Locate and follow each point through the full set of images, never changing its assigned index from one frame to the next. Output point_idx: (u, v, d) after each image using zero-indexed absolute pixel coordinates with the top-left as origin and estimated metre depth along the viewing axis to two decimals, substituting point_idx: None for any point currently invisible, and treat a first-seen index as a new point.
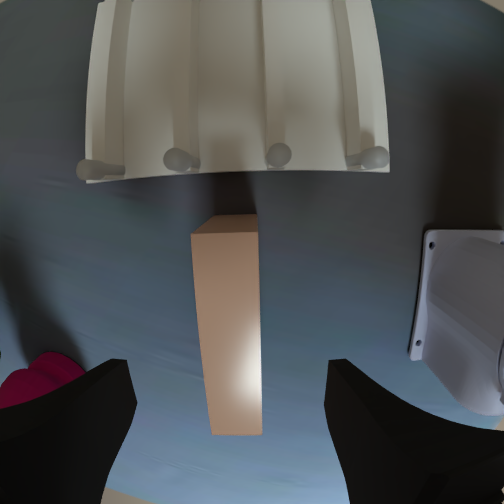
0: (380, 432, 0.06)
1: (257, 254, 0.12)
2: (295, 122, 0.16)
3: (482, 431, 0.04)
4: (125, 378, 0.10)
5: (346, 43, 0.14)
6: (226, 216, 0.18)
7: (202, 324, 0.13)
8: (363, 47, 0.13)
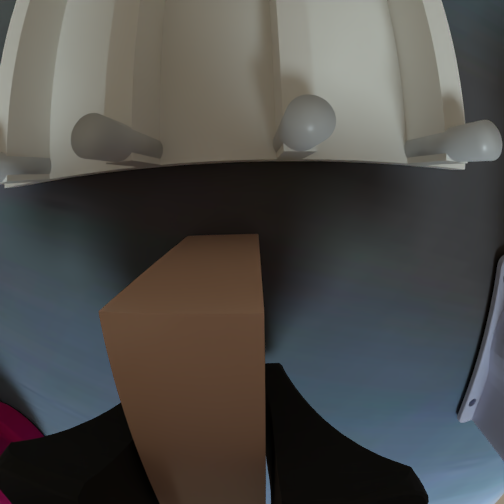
0: (274, 444, 0.06)
1: (262, 365, 0.05)
2: (324, 81, 0.09)
3: (382, 461, 0.04)
4: None
5: None
6: (206, 239, 0.10)
7: (152, 470, 0.05)
8: None
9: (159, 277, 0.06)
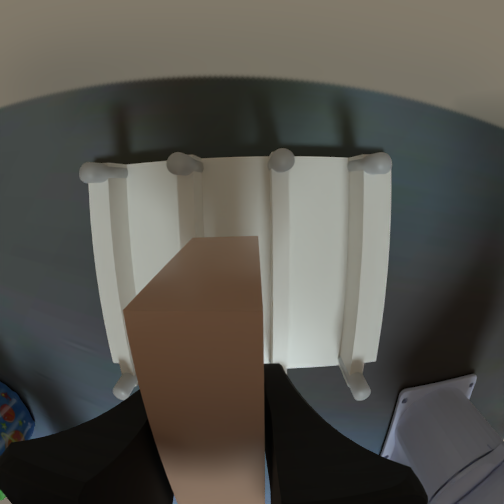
0: (273, 444, 0.06)
1: (261, 353, 0.05)
2: (297, 331, 0.19)
3: (382, 461, 0.04)
4: None
5: (355, 265, 0.17)
6: (210, 242, 0.11)
7: (164, 450, 0.06)
8: (371, 280, 0.16)
9: (171, 279, 0.07)
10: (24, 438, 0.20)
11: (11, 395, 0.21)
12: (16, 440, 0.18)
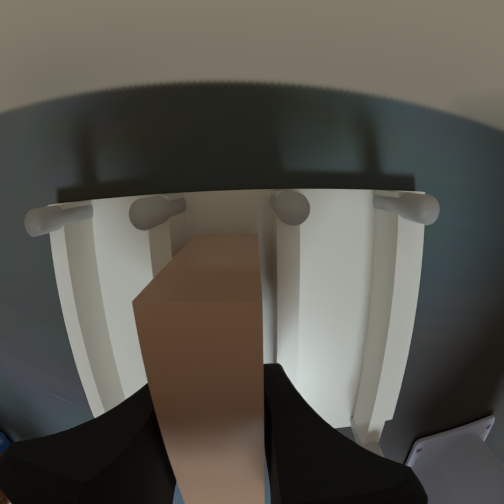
0: (273, 444, 0.06)
1: (261, 342, 0.06)
2: (305, 396, 0.15)
3: (382, 461, 0.04)
4: None
5: (379, 328, 0.13)
6: (211, 239, 0.12)
7: (169, 437, 0.07)
8: (398, 349, 0.12)
9: (176, 273, 0.08)
10: None
11: None
12: None
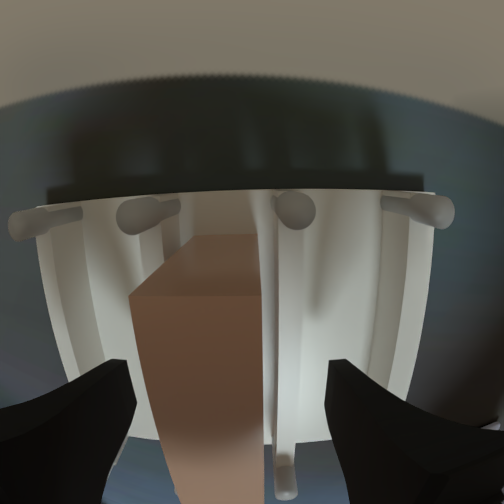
0: (380, 432, 0.06)
1: (260, 338, 0.06)
2: (307, 407, 0.14)
3: (482, 431, 0.04)
4: (125, 378, 0.10)
5: (386, 338, 0.12)
6: (211, 239, 0.12)
7: (165, 438, 0.06)
8: (406, 359, 0.11)
9: (174, 270, 0.07)
10: None
11: None
12: None
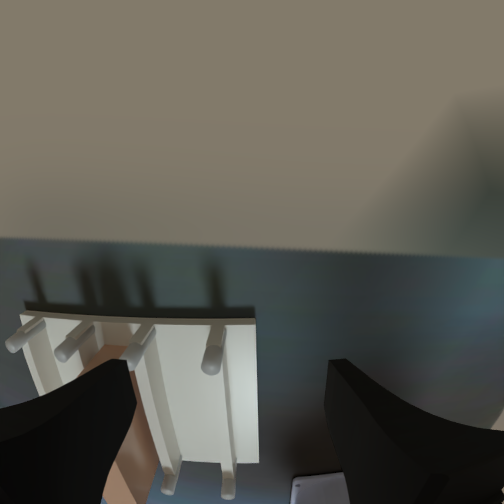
0: (380, 432, 0.06)
1: None
2: (187, 440, 0.21)
3: (482, 431, 0.04)
4: (125, 378, 0.10)
5: None
6: (109, 351, 0.18)
7: None
8: (225, 429, 0.18)
9: None
10: None
11: None
12: None
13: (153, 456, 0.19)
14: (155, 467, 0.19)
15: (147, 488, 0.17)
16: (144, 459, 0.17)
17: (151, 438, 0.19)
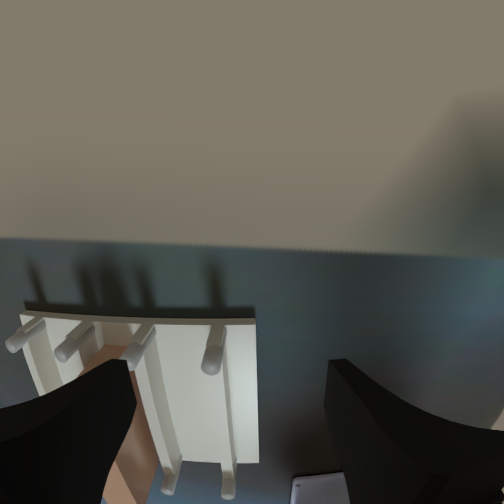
0: (380, 432, 0.06)
1: None
2: (187, 440, 0.21)
3: (482, 431, 0.04)
4: (125, 378, 0.10)
5: None
6: (109, 351, 0.18)
7: None
8: (225, 429, 0.18)
9: None
10: None
11: None
12: None
13: (153, 456, 0.19)
14: (155, 467, 0.19)
15: (147, 488, 0.17)
16: (144, 459, 0.17)
17: (151, 438, 0.19)
